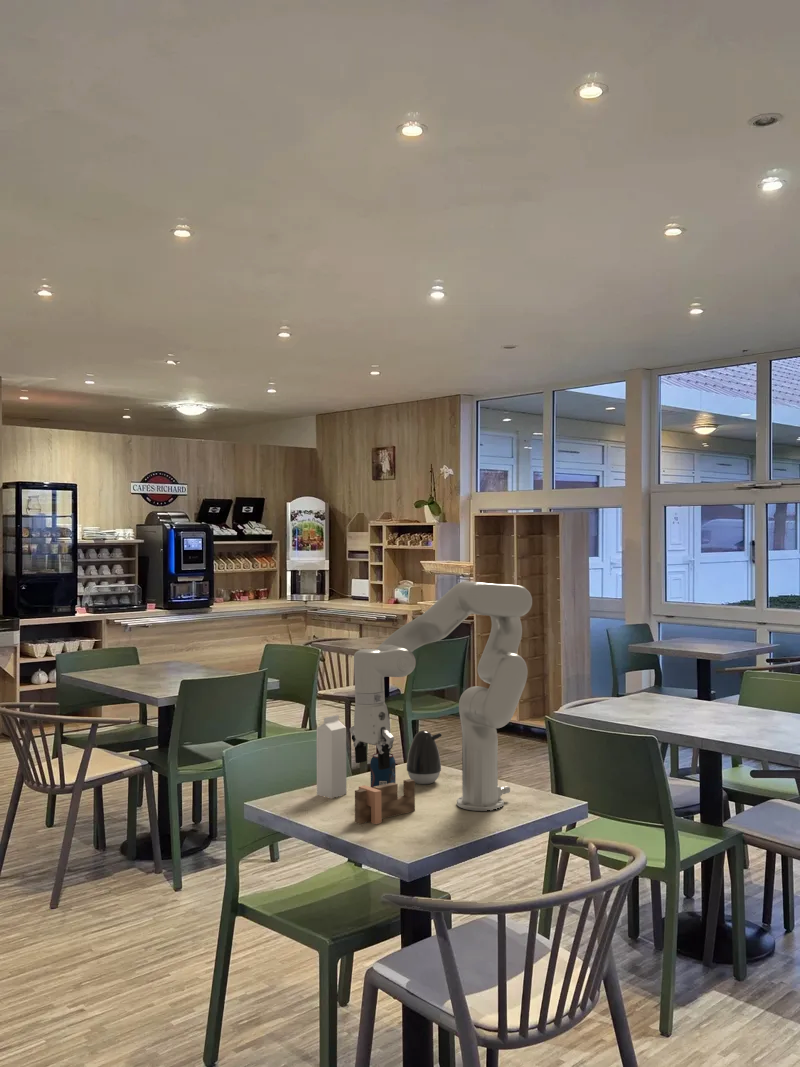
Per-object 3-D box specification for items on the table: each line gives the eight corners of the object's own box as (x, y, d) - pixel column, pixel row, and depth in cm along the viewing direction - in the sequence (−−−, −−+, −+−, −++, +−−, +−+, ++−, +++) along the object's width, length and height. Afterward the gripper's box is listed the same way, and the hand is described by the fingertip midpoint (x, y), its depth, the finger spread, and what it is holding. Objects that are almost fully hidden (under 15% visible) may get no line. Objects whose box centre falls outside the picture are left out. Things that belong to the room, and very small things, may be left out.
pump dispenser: (443, 786, 264) (442, 733, 264) (407, 786, 264) (406, 734, 264) (440, 777, 274) (440, 727, 275) (406, 777, 274) (406, 727, 274)
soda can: (370, 795, 256) (370, 752, 256) (395, 794, 256) (395, 751, 256) (370, 801, 249) (370, 757, 249) (395, 801, 249) (395, 757, 249)
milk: (346, 794, 256) (346, 716, 257) (331, 799, 252) (332, 719, 252) (330, 790, 260) (331, 713, 260) (316, 795, 255) (316, 716, 256)
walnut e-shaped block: (410, 809, 241) (409, 778, 241) (414, 810, 240) (414, 780, 240) (354, 822, 230) (354, 790, 230) (359, 824, 228) (359, 792, 229)
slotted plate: (365, 816, 235) (364, 785, 235) (381, 822, 230) (381, 790, 230) (358, 817, 234) (358, 786, 234) (375, 824, 228) (375, 792, 229)
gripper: (402, 700, 228) (405, 768, 228) (361, 692, 241) (364, 757, 241) (378, 704, 223) (381, 774, 223) (338, 696, 237) (340, 762, 237)
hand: (372, 765), depth 232 cm, fingers open, 9 cm apart
